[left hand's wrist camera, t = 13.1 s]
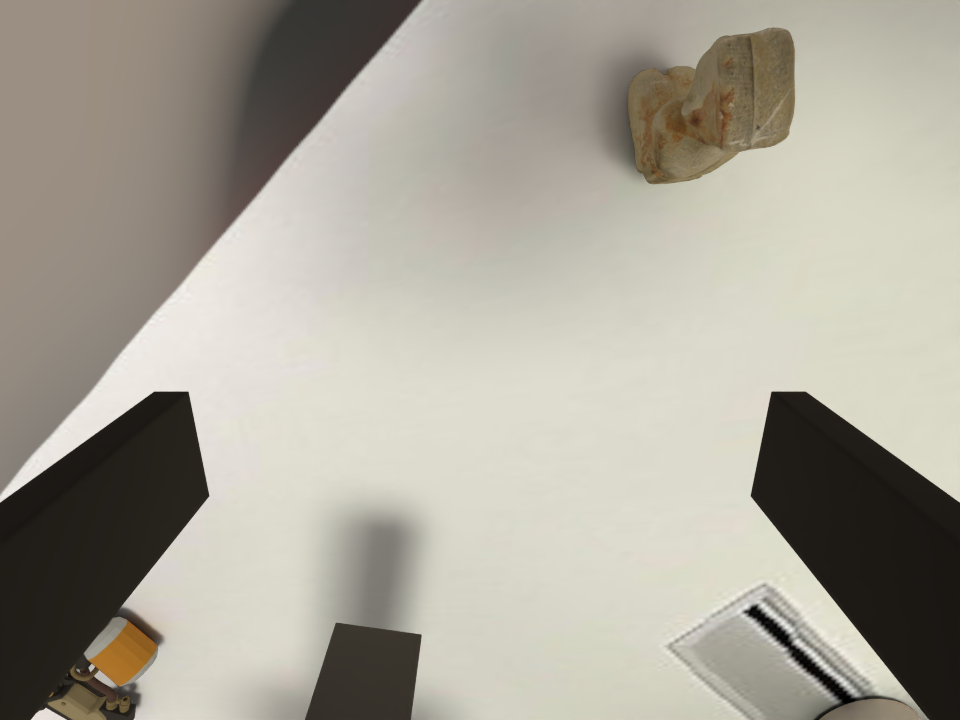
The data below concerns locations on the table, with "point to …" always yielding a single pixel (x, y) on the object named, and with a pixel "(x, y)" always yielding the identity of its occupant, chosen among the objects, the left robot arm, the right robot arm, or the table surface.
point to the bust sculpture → (873, 711)
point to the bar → (366, 675)
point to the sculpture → (713, 106)
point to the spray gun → (119, 659)
